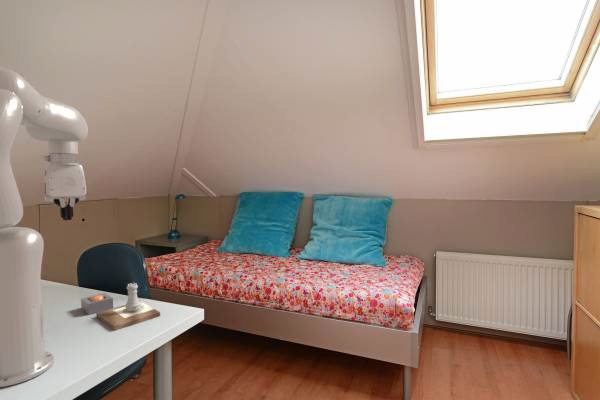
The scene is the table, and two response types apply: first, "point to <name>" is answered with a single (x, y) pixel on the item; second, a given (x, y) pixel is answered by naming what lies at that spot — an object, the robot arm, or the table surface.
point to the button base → (96, 304)
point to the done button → (96, 298)
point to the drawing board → (127, 316)
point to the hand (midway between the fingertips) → (67, 219)
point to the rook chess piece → (132, 298)
